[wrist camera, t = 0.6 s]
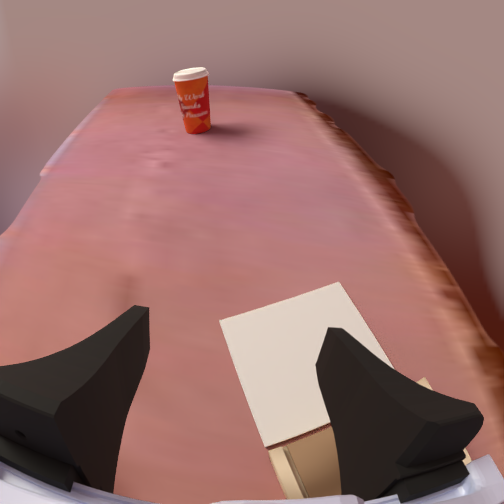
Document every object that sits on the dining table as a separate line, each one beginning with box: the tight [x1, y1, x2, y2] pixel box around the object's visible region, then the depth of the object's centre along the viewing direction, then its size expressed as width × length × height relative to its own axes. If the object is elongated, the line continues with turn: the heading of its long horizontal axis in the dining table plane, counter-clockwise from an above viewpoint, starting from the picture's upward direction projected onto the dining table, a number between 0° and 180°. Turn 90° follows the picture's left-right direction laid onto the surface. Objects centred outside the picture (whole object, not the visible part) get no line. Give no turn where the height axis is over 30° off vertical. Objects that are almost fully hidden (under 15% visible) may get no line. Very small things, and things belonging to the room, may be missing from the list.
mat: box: [219, 282, 395, 447], centre depth 28 cm, size 14×14×1 cm
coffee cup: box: [173, 67, 211, 134], centre depth 65 cm, size 8×8×15 cm
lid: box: [286, 427, 341, 498], centre depth 16 cm, size 11×11×4 cm
